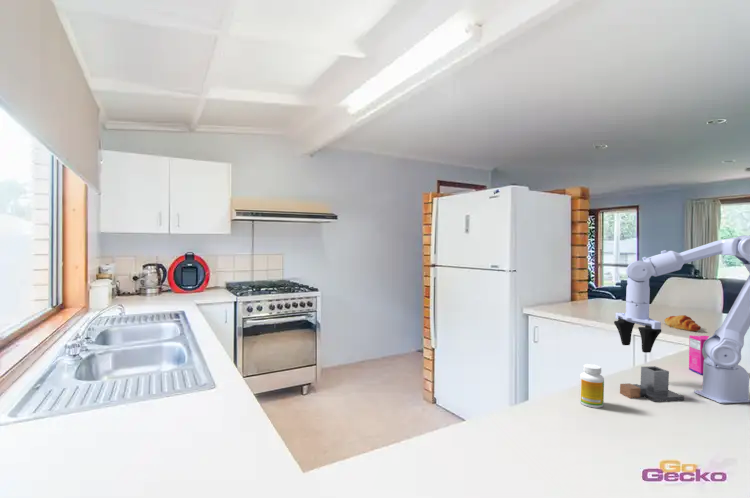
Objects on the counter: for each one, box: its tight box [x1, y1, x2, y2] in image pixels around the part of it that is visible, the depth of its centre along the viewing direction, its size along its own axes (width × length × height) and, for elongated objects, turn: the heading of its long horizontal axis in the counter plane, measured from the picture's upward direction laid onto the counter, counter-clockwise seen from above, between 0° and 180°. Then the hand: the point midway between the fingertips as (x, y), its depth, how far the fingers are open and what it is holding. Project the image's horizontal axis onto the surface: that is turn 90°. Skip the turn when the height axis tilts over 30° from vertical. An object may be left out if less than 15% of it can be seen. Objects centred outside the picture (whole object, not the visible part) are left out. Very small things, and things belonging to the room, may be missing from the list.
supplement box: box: [688, 335, 711, 376], centre depth 130 cm, size 6×6×12 cm
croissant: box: [664, 314, 702, 332], centre depth 199 cm, size 21×10×8 cm, turn 3°
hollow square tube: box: [639, 365, 670, 394], centre depth 110 cm, size 4×4×6 cm
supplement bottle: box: [578, 363, 605, 409], centre depth 103 cm, size 5×5×10 cm
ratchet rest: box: [619, 383, 685, 403], centre depth 110 cm, size 14×9×4 cm, turn 99°
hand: (635, 348), depth 118 cm, fingers open, 7 cm apart
